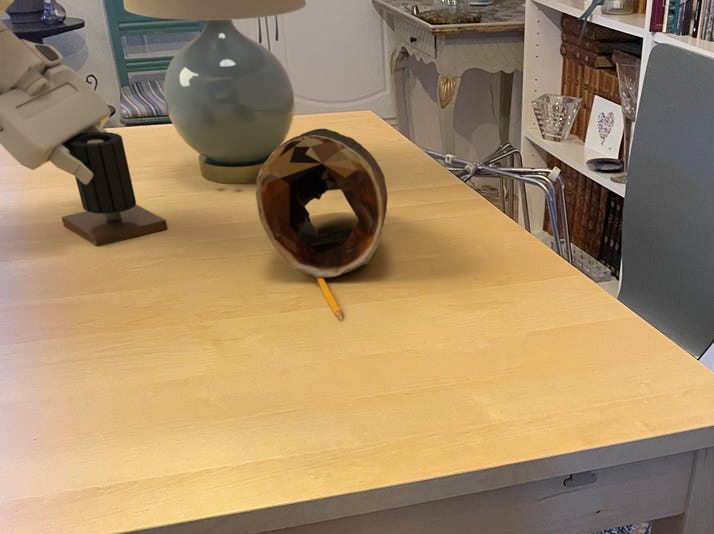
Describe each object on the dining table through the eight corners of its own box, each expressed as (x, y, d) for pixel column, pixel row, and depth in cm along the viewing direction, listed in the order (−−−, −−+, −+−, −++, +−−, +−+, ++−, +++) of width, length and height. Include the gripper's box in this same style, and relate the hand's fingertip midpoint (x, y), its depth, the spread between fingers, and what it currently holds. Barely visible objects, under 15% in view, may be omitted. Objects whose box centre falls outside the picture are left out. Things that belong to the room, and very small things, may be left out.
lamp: (331, 191, 138) (301, -154, 112) (157, 202, 133) (84, -155, 107) (312, 146, 155) (282, -161, 130) (158, 154, 151) (95, -163, 125)
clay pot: (380, 115, 125) (373, 122, 103) (399, 239, 132) (396, 269, 111) (270, 131, 125) (240, 141, 103) (296, 253, 133) (273, 286, 111)
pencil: (321, 277, 113) (321, 272, 113) (345, 322, 104) (344, 315, 104) (315, 278, 113) (314, 272, 113) (338, 322, 104) (337, 316, 103)
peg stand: (97, 246, 120) (74, 157, 113) (63, 226, 125) (40, 139, 118) (168, 229, 125) (150, 142, 118) (132, 210, 130) (114, 126, 123)
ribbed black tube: (97, 217, 120) (80, 149, 115) (75, 204, 124) (57, 137, 118) (144, 206, 123) (130, 139, 118) (121, 194, 127) (106, 129, 122)
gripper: (-25, 78, 105) (81, 176, 111) (59, 43, 121) (149, 131, 126) (-48, 120, 109) (56, 213, 114) (37, 81, 124) (125, 165, 130)
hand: (105, 170), depth 120 cm, fingers closed on ribbed black tube, 7 cm apart
